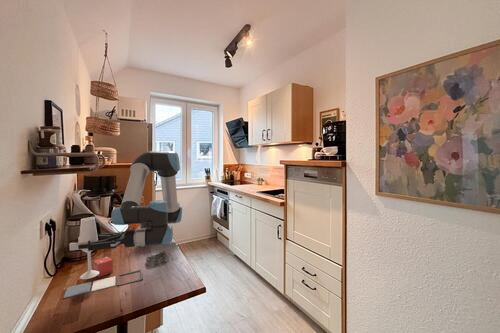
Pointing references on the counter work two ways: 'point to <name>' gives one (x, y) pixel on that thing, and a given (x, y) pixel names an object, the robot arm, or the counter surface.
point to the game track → (96, 285)
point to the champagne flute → (87, 234)
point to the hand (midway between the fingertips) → (74, 243)
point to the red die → (103, 266)
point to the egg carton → (157, 258)
